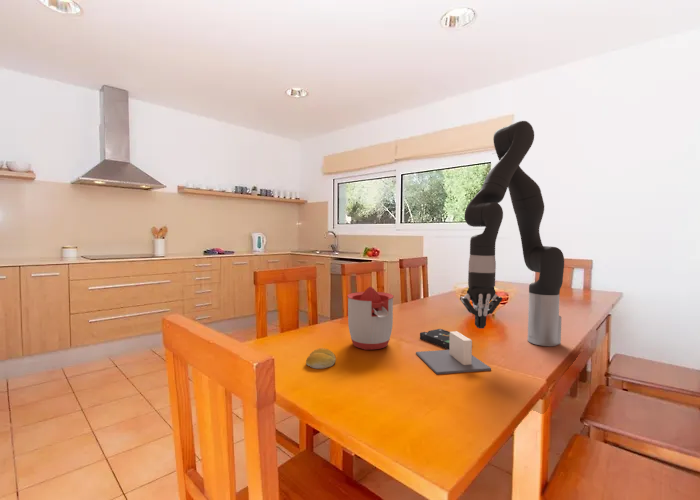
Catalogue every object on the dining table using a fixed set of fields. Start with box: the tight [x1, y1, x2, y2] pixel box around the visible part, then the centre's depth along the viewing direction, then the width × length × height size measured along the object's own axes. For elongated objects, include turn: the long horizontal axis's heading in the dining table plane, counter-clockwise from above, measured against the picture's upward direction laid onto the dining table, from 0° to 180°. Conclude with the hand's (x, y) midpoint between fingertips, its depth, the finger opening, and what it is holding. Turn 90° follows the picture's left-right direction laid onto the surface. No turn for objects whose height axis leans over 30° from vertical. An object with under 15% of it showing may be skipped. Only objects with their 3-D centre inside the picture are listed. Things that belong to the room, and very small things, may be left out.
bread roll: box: [305, 347, 337, 370], centre depth 102 cm, size 8×9×4 cm
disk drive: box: [419, 328, 472, 350], centre depth 122 cm, size 10×3×15 cm
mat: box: [415, 349, 492, 375], centre depth 103 cm, size 16×16×1 cm
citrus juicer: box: [347, 286, 395, 351], centre depth 117 cm, size 16×17×20 cm
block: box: [448, 330, 473, 365], centre depth 103 cm, size 2×9×7 cm, turn 10°
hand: (480, 327), depth 105 cm, fingers closed
